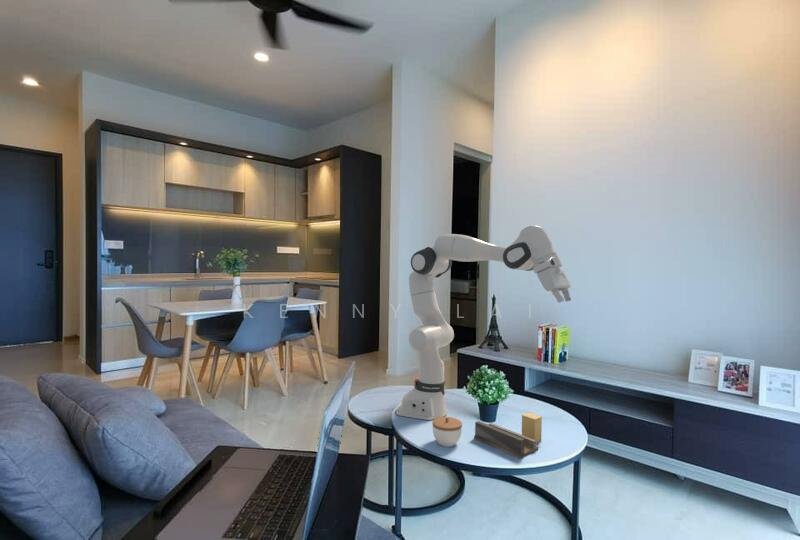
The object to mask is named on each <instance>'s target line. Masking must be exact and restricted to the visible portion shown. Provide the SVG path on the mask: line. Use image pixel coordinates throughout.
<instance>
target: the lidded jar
mask: <svg viewBox="0 0 800 540" xmlns="http://www.w3.org/2000/svg"><path fill="white" fill-rule="evenodd" d="M431 424H432V433H433V438H434V439H435V440H436V442H437V443H438V445H440V446H442V447H445V448H447V447H448V448H449V447H451V448H452V447H454V446H455V445H456V444H457V443H458V442H459V440H460V438H461V436H462V430H463V429H462V427H463V422H462V421H461V420H460V419H458V418H456V417H450V416H443V417H438V418H435V419H433V420H432V423H431Z"/></svg>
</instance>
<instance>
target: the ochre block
mask: <svg viewBox="0 0 800 540" xmlns="http://www.w3.org/2000/svg"><path fill="white" fill-rule="evenodd" d="M542 420H543V416H541V415H538V414H534V413H532V412H527V413H523V414H521V435H524V436H526V437H529V438H531V439H534V440H536V441H537V443H539V442H542V431H543V430H542V426H543V425H542V423H543V421H542Z"/></svg>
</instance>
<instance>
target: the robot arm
mask: <svg viewBox="0 0 800 540" xmlns="http://www.w3.org/2000/svg"><path fill="white" fill-rule="evenodd" d="M453 261H457V262H463V263H465V262H470V263H471V262H472V263H473V262H482V261H483V262H484V261H495V262H501V263H503V264H505V266H506V267H507V268H509V269H512V270H517V271H518V270H519V271H526V272H531V271H533V273H534V274H536V275H537V278H538V280H539V281H540V284H541V285H542V287H543V289H544V290H545V291H546V292H551V293H552V295H553V296H554V298H555V299H556V301H557V303H562V302H564V301H565V302H568V303H569V302H570V301H571V300H572V298H571V295H570V291H569V289H570V288H571V287H572V286H571V284H570V282H569V279H568V278H567V276H566V274H565V272H564V270H562V269H561V267H562V266H563V264H562V262H561V260H560V258H559V256H558V253H557V252H556V251H555V250H554V248H553V244H552V241H551V239H550V237H549V236H548V233H547V232H546V231H545V229H544V228H543V227H542V226H540V225H530V226H527V227H524V228H523V229H522V230H520V232H519V234H518V236H517V237H516V239H515V240H514V241H513V242H512V243H511V244H510V245H509V246H501V245H495V244H492V243H489V242H485V241H483V240H481V239H478V238H475V237H472V236H470V235H465V234H460V233H459V234H457V233H445V234H440V235H439V236H438V237H437V238H436V239H435V241H434V244H433V247H430V246H427V247H425V248H422V249H420V250H418V251H416V252H414V253H413V255H412V256H411V258H410V266H411V268H412V270H413V271H412V272H411V273H410V274H409V277H408V286H409V293H410V297H411V303H412V304H411V305H412V309H413V312H414V314H415V315H416V316H417V317H418V318H419V320H420V321H421V322H422V324H423V325H420V326H418V327H416V328H415V329H412V330H411V332H410V333H409V334H408V335H409V336H408V342H409V344H410V347H411V348H412V349H413V351H415V353H416V356H417V360H418V377H415V378H414V384H413V385H414V387H413V388H412V389H411V390H409V391H408V392H407V393H405V394H404V395H403V397H402V400H401V403H400V404H398V405H397V407H396V409H395V413H396V415H397V414H398V415H397V416H399V417H408V418H413V419H420V420H424V421H425V420H426V421H433V420H434V419H436V418H438V417H446V416H447V415H448V410H447V405H446V399H445V394H446V381H445V362H444V361H443V360H442V359H441V357H440V353H439V349H440V348H443V347H446V346H447V345H449V344H450V343H452V341H453V340H454V338H455V333H454V329H453V327H452V326H451V325H450V324H449V323H448V322H447V321H446V320H445V318H444V315H443V313H442V312H441V309H440V307H439V302H438V299H437V295H436V291H435V286H434V285H435V284H434V279H435V278H439V277H441V276H443V275H444V274H446V273H447V272H448V271H449V270H451V268H452V265H453ZM560 291H561V293H560ZM561 294H562V295H563V296H562V295H561Z"/></svg>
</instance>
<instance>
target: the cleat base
mask: <svg viewBox="0 0 800 540" xmlns="http://www.w3.org/2000/svg"><path fill="white" fill-rule="evenodd" d="M474 423H475V424H474V425H475V426H474V435H473V439H475V440H476V441H480V442H482V443H484V444H486V445H488V446H489V447H490V446H491V447H493V448H495V449H497V450H500V451H502V452H503V453H506V454H508V455H511V456H513V457H515V458H517V459H522V458H524V457H526V456H528V455H530V454H532V453H534V452H535V451H538V450H539V446H537V443H538V442H537V441H536V440H534V439H531V438H529V437H526V436H524V435H522V433H519V432H516V431H514V430H513V431H512V430H511V429H507V428H506V427H502V426H501V425H498V424H495V423H493V422H490V423H489V422H488V423H485V422H482V421H480V420H478V421H475V422H474Z"/></svg>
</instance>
